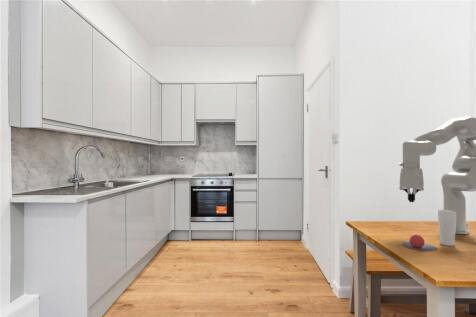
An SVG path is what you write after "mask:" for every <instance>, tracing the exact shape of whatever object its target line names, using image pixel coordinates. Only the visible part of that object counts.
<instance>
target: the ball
mask: <svg viewBox="0 0 476 317" xmlns="http://www.w3.org/2000/svg"><path fill="white" fill-rule="evenodd" d="M409 242H410V244H411V245H412V246H413V247H415V248H421V247H423V246H424V243H425V240H424V238H423V236H421V235H419V234H413V235H411V236H410V237H409ZM425 244H426V243H425Z"/></svg>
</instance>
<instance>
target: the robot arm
mask: <svg viewBox="0 0 476 317" xmlns="http://www.w3.org/2000/svg"><path fill="white" fill-rule="evenodd" d="M455 137H456V138H457V141H458V143H459V150H458V152H457V154H456V156H455V158H454V160H453V163H452V170H453V172H447V173H444V174H443V175H442V176H441V178H440V179H441V180H440V183H441V187H442V192H443V195H442V196H443V210H451V211H456V216H457V221H456V231H455V235H469V234H470V231H469V230H468V229H466V228H467V227H469V224H468V223H466V222H467V221H466V220H467V219H466V218H467V217H466V216H467V212H466V211H467V210H466V209H467V208H466V201H467V200H466V197H465V194H464V193H463V192H470V193H472V192H473V193H475V192H476V143H475V142H474V141H476V117H473V116H472V117H471V116H465V117H464V116H463V117H459V118H458V117H457V118H452V119H449V120H447V122H445V123H443V124H442V125H441V126H439V127H437V128H435V129H434V130H430V131H429V132H426V133H424V134H422V135H419V136H417V137H415V138H414V139H413V138H412V140H411V141H410V140H408V141H403V143H402V162H401V163H399V166H400V167H401V169H400V175H399V188H398V189H399V190H400V191H402V192H403V191H404V192H405V193H406V194H407V201H409V203H415V202H416V194H418V192H421V191H422V192H423V191H425V189H424V186H425V185H424V182H425V181H424V172H423V168H421V160H420V159H421V157H426V156H433V155H434V154H435V153H436V151H437V146H440V145H441V146H442V145H444V144H446V143H449V141H451V140H453V139H454V138H455ZM411 189H412V192H411Z"/></svg>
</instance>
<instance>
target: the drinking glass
mask: <svg viewBox="0 0 476 317" xmlns="http://www.w3.org/2000/svg"><path fill="white" fill-rule="evenodd" d="M437 221H438V222H437V223H438V231H439V232H438V233H439V243H440V245H443V246H445V247H447V246H448V247H452V246H455V242H456V240H455V239H456V234H455V231H456V221H457V216H456V211H451V210H444V209H438V211H437Z"/></svg>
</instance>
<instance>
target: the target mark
mask: <svg viewBox="0 0 476 317" xmlns="http://www.w3.org/2000/svg"><path fill="white" fill-rule="evenodd" d="M401 246H403V247H406V248H409V249H411V250H416V251H417V250H419V251H428V252H429V251H430V252H431V251H437V250H438V247H437V246H435V245H432V244H429V243H424V246H423V247H421V248H415V247H413V246H412V245H411V244H410V241H404V242H402V245H401Z"/></svg>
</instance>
